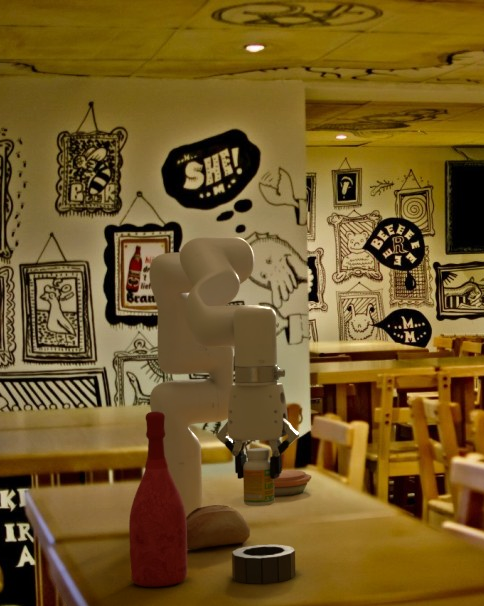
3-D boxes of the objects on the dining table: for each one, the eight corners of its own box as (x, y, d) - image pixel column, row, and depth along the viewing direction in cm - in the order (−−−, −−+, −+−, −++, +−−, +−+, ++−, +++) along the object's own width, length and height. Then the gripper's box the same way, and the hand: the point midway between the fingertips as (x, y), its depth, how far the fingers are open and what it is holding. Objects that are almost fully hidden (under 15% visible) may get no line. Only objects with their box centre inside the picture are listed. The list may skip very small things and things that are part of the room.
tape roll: (224, 583, 216) (223, 557, 216) (245, 568, 227) (244, 544, 226) (284, 584, 214) (283, 558, 214) (302, 569, 225) (301, 545, 225)
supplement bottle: (268, 506, 218) (267, 451, 218) (239, 506, 219) (238, 451, 219) (278, 501, 223) (277, 447, 223) (250, 501, 224) (248, 447, 224)
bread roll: (168, 548, 245) (167, 508, 245) (234, 537, 255) (233, 498, 254) (192, 556, 238) (191, 514, 238) (259, 544, 247) (258, 504, 247)
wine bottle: (135, 576, 222) (131, 409, 222) (191, 574, 223) (186, 407, 222) (126, 590, 212) (121, 415, 212) (184, 587, 213) (180, 413, 213)
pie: (308, 497, 300) (307, 476, 300) (244, 498, 301) (243, 477, 300) (315, 486, 316) (314, 466, 316) (254, 487, 316) (254, 467, 316)
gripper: (308, 374, 223) (311, 474, 223) (217, 374, 226) (220, 474, 226) (296, 377, 215) (298, 481, 216) (202, 378, 218) (205, 480, 219)
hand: (258, 476), depth 221 cm, fingers closed on supplement bottle, 5 cm apart
